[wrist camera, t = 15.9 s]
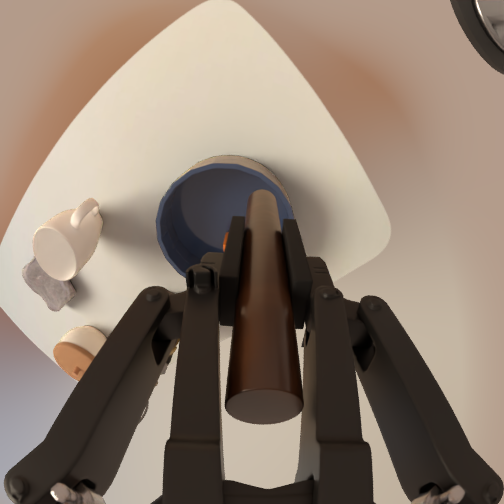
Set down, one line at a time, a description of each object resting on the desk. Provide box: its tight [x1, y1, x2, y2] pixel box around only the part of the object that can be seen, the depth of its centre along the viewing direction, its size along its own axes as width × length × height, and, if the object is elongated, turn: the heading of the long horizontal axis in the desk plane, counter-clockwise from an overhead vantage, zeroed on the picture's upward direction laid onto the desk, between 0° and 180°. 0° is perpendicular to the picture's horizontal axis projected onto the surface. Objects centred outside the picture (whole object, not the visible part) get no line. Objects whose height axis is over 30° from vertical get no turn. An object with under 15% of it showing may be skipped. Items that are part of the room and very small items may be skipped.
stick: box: [225, 189, 304, 424], centre depth 15 cm, size 2×2×18 cm
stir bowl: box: [156, 155, 294, 278], centre depth 37 cm, size 17×17×6 cm
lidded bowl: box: [53, 326, 107, 381], centre depth 48 cm, size 13×13×11 cm
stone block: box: [22, 256, 76, 311], centre depth 44 cm, size 12×5×10 cm
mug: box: [33, 198, 103, 281], centre depth 34 cm, size 12×8×11 cm
